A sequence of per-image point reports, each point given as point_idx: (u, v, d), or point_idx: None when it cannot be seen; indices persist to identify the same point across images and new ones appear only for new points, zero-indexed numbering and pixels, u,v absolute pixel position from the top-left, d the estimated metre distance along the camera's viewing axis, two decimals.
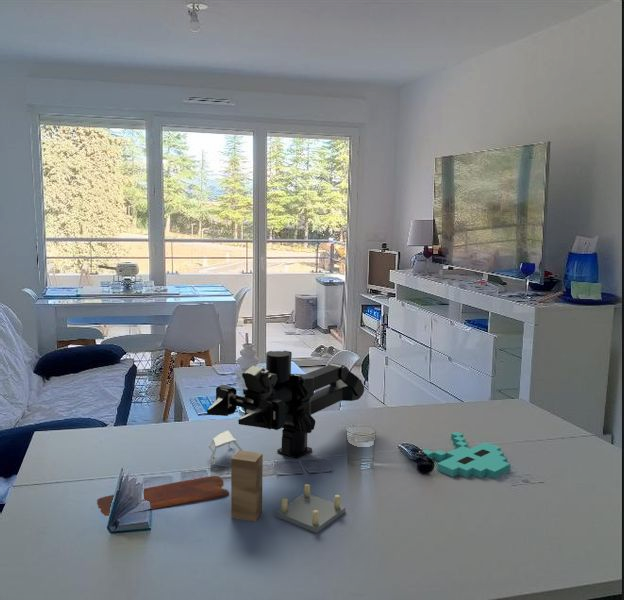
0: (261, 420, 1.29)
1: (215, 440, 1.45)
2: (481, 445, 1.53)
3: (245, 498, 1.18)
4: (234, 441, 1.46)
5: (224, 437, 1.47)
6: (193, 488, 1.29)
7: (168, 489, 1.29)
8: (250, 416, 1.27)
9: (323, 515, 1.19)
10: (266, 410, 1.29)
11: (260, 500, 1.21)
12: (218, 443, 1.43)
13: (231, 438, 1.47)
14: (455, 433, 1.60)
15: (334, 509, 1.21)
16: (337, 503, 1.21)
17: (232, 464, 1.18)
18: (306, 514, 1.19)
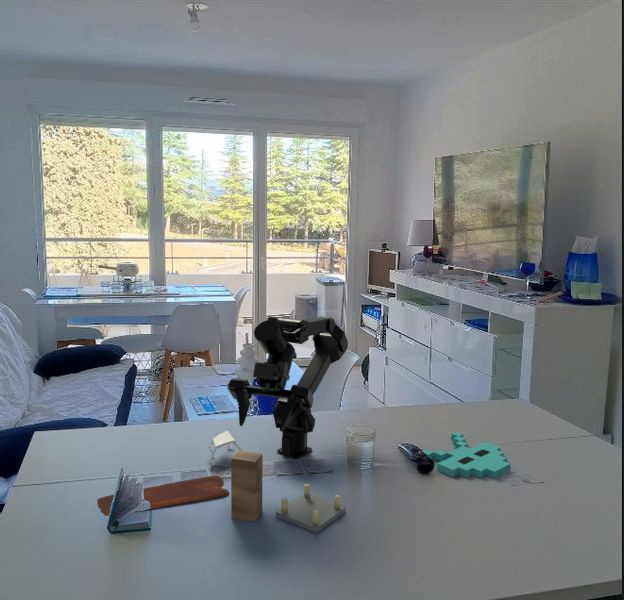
0: (293, 410, 1.32)
1: (215, 440, 1.45)
2: (481, 445, 1.53)
3: (245, 498, 1.18)
4: (234, 441, 1.46)
5: (224, 437, 1.47)
6: (193, 488, 1.29)
7: (168, 489, 1.29)
8: (287, 419, 1.29)
9: (323, 515, 1.19)
10: (295, 402, 1.31)
11: (260, 500, 1.21)
12: (218, 443, 1.43)
13: (231, 438, 1.46)
14: (455, 433, 1.60)
15: (334, 509, 1.21)
16: (337, 503, 1.21)
17: (232, 464, 1.18)
18: (306, 514, 1.19)
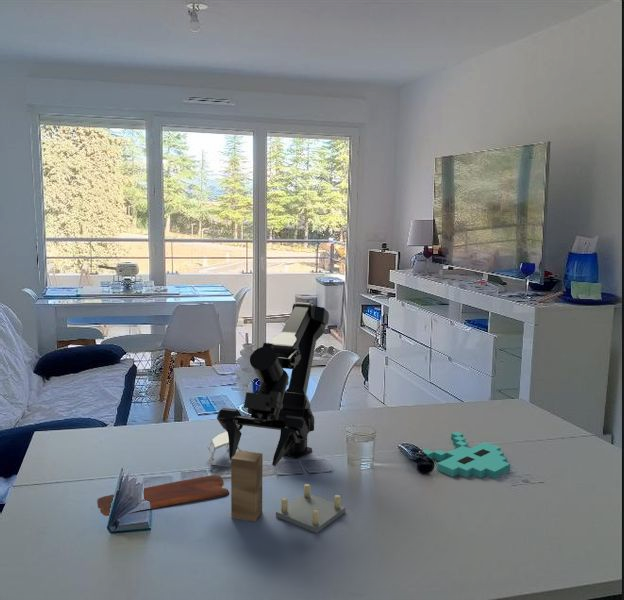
0: (287, 442, 1.24)
1: (214, 441, 1.44)
2: (481, 445, 1.53)
3: (245, 498, 1.18)
4: None
5: (223, 438, 1.46)
6: (193, 488, 1.29)
7: (168, 489, 1.29)
8: (280, 452, 1.21)
9: (323, 515, 1.19)
10: (289, 434, 1.23)
11: (260, 500, 1.21)
12: (217, 444, 1.43)
13: None
14: (455, 433, 1.60)
15: (334, 509, 1.21)
16: (337, 503, 1.21)
17: (232, 464, 1.18)
18: (306, 514, 1.19)
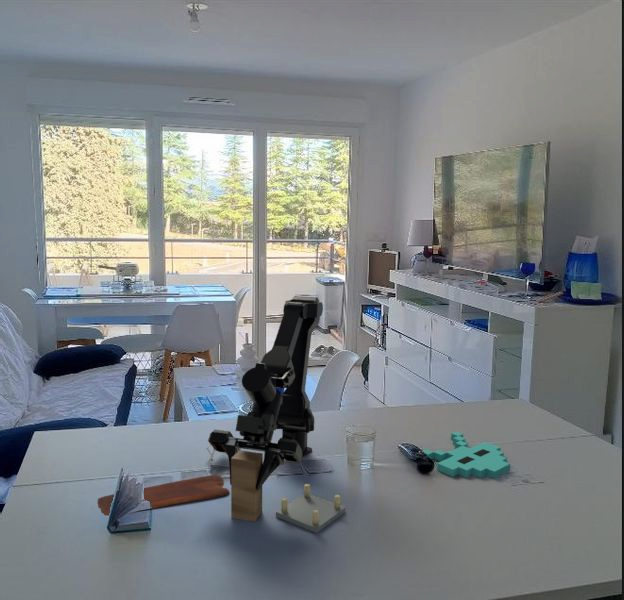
0: (271, 464, 1.21)
1: None
2: (481, 445, 1.53)
3: (245, 498, 1.18)
4: None
5: None
6: (193, 487, 1.29)
7: (168, 489, 1.29)
8: (264, 476, 1.18)
9: (323, 515, 1.19)
10: (273, 457, 1.20)
11: (260, 500, 1.21)
12: None
13: None
14: (455, 433, 1.60)
15: (334, 509, 1.21)
16: (337, 503, 1.21)
17: (232, 464, 1.18)
18: (306, 514, 1.19)
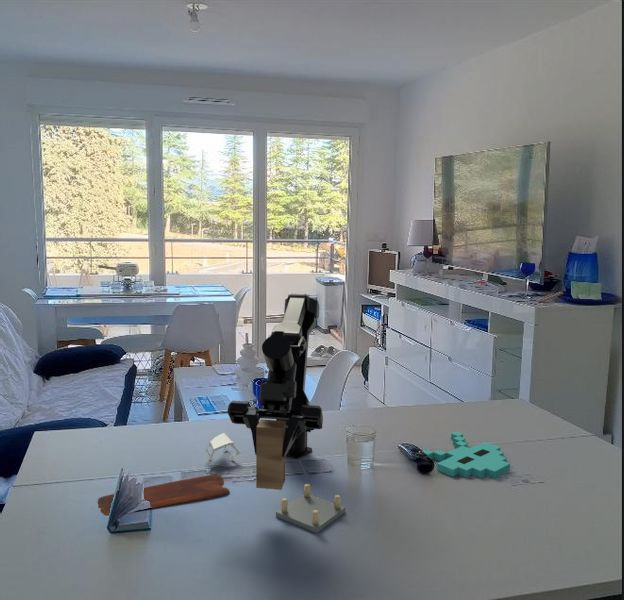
0: (294, 432, 1.20)
1: (212, 443, 1.43)
2: (481, 445, 1.53)
3: (271, 466, 1.17)
4: (231, 443, 1.44)
5: (221, 440, 1.45)
6: (193, 487, 1.30)
7: (168, 488, 1.29)
8: (289, 443, 1.17)
9: (323, 515, 1.19)
10: None
11: (284, 469, 1.20)
12: (216, 446, 1.42)
13: (228, 441, 1.45)
14: (455, 433, 1.60)
15: (334, 509, 1.21)
16: (337, 503, 1.21)
17: (257, 433, 1.16)
18: (306, 514, 1.19)
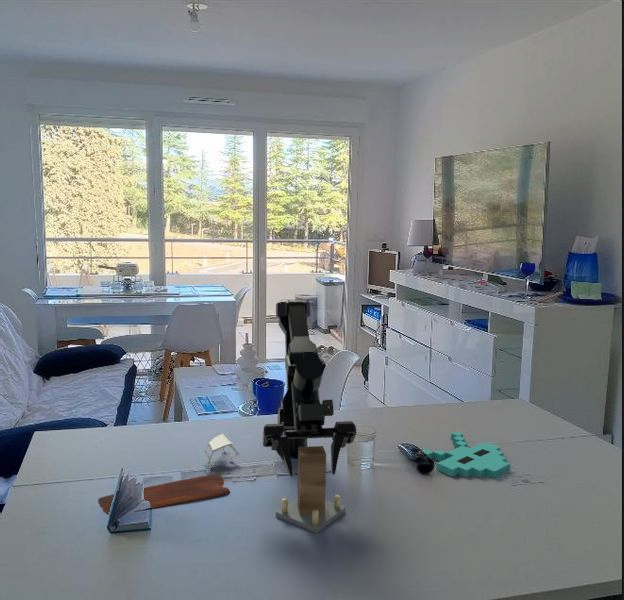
0: None
1: (211, 444, 1.43)
2: (481, 445, 1.53)
3: (315, 492, 1.19)
4: (230, 444, 1.44)
5: (220, 441, 1.45)
6: (193, 487, 1.30)
7: (168, 488, 1.29)
8: (337, 460, 1.20)
9: (323, 515, 1.19)
10: None
11: None
12: (215, 447, 1.41)
13: (227, 441, 1.44)
14: (455, 433, 1.60)
15: (334, 509, 1.21)
16: (337, 503, 1.21)
17: (302, 461, 1.17)
18: None
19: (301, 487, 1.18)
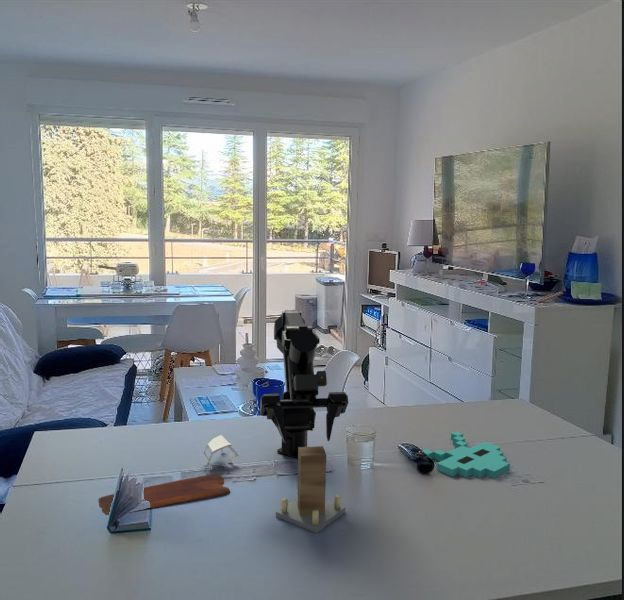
0: None
1: (210, 445, 1.42)
2: (481, 445, 1.53)
3: (315, 492, 1.19)
4: (229, 445, 1.43)
5: (219, 442, 1.44)
6: (194, 487, 1.30)
7: (169, 488, 1.29)
8: None
9: (323, 515, 1.19)
10: None
11: None
12: (214, 448, 1.40)
13: (226, 443, 1.44)
14: (455, 433, 1.60)
15: (334, 509, 1.21)
16: (337, 503, 1.21)
17: (302, 461, 1.17)
18: None
19: (301, 487, 1.18)
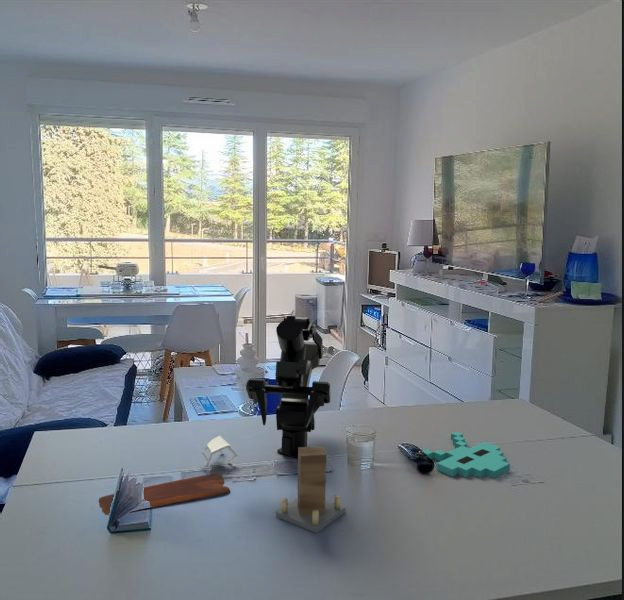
0: (314, 406, 1.35)
1: (209, 446, 1.41)
2: (481, 445, 1.53)
3: (315, 492, 1.19)
4: (229, 446, 1.43)
5: (218, 443, 1.44)
6: (194, 486, 1.30)
7: (169, 488, 1.30)
8: (310, 415, 1.32)
9: (323, 515, 1.19)
10: None
11: None
12: (213, 449, 1.40)
13: (225, 443, 1.43)
14: (455, 433, 1.61)
15: (334, 509, 1.21)
16: (337, 503, 1.21)
17: (302, 461, 1.17)
18: None
19: (301, 487, 1.18)
